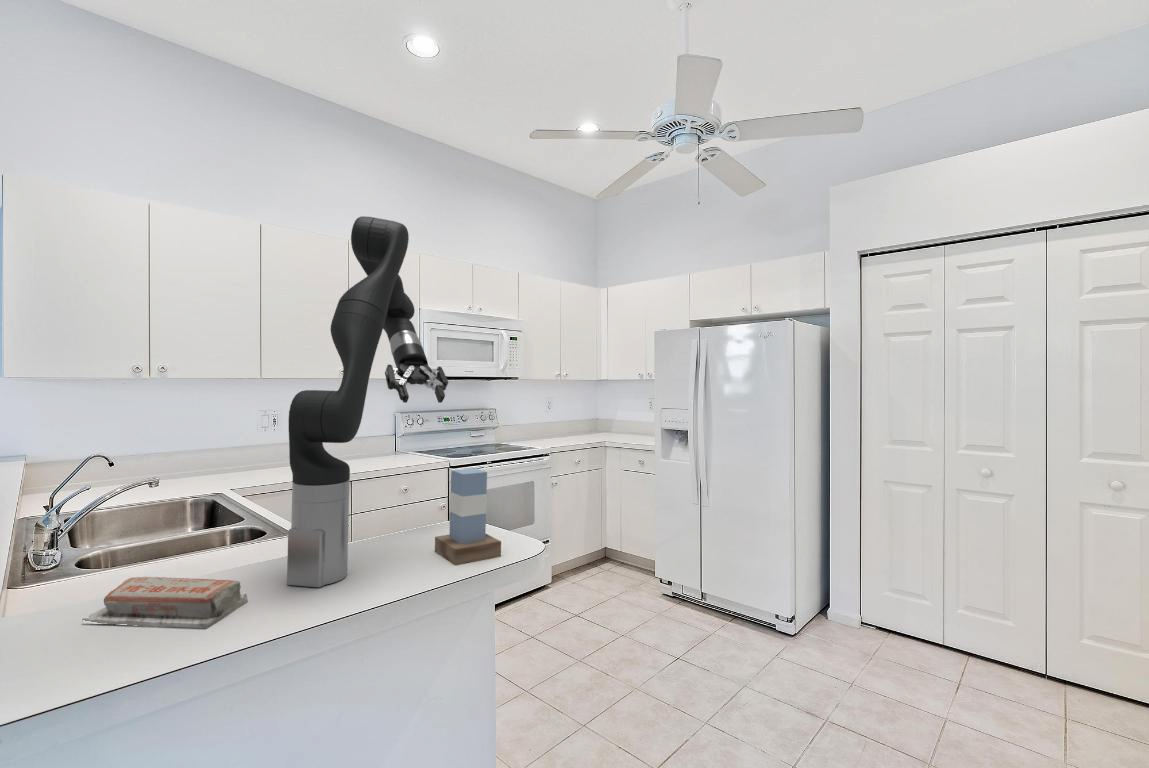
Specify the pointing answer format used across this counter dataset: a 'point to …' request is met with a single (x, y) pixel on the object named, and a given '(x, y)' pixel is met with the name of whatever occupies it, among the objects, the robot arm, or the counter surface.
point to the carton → (468, 505)
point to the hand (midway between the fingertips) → (424, 400)
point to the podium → (467, 549)
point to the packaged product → (170, 602)
